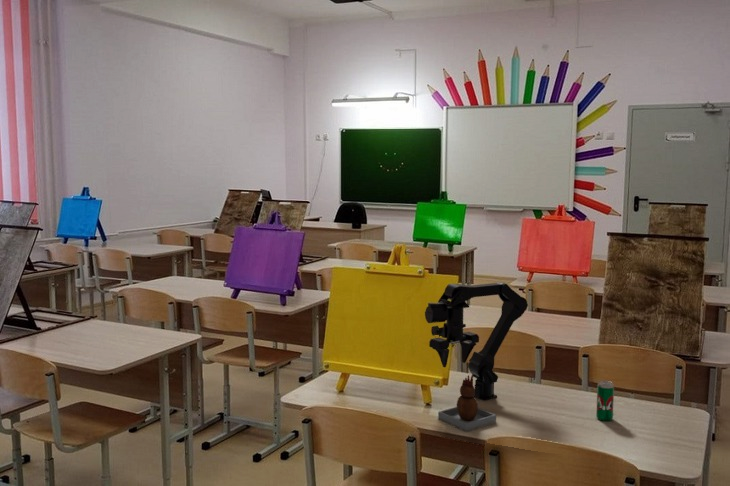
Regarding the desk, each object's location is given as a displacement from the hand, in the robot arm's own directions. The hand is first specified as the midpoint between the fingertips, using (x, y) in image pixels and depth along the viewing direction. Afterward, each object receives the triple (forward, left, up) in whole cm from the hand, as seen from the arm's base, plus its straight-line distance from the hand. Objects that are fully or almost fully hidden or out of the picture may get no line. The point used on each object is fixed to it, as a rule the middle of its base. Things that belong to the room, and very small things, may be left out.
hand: (454, 364), depth 233 cm
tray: (+9, +16, -13) cm, 22 cm away
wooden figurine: (+9, +16, -13) cm, 22 cm away
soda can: (-28, +41, -13) cm, 51 cm away
